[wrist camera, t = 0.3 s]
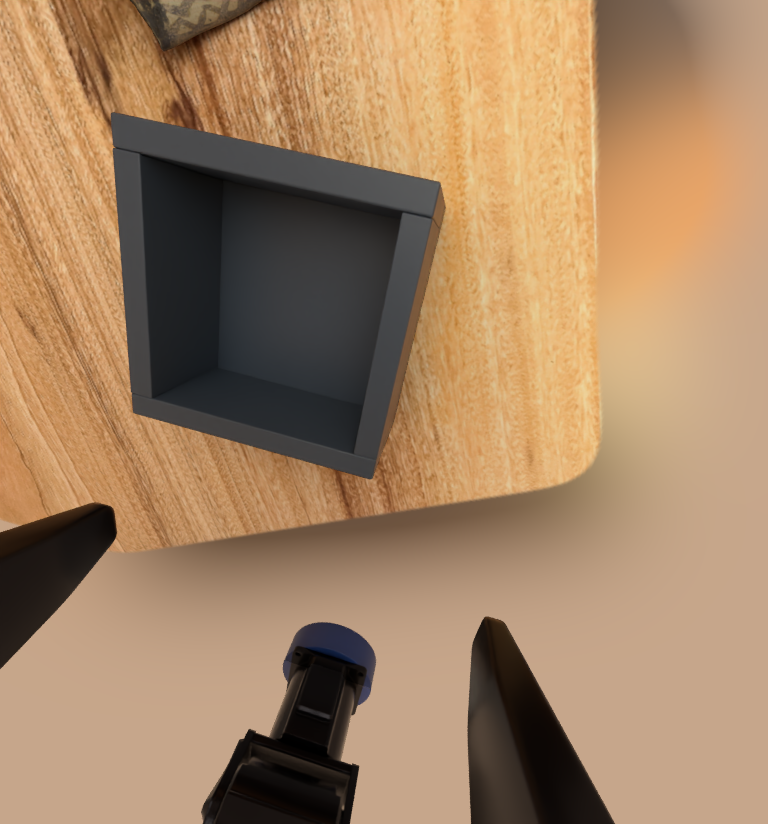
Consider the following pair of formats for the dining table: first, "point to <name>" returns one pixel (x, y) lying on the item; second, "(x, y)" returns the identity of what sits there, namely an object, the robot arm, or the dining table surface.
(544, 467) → the dining table surface
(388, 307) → the bin
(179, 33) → the pottery shard
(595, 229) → the dining table surface
